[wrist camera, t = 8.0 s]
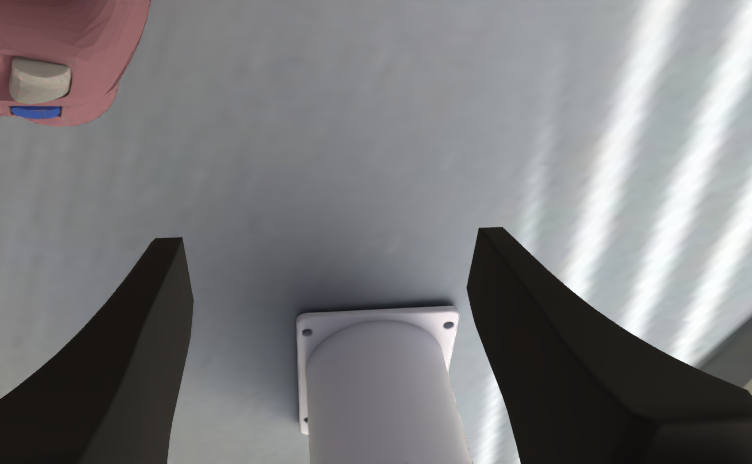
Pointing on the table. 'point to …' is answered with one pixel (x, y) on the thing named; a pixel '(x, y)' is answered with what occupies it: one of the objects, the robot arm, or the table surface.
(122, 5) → the video game controller
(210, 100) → the table surface
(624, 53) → the table surface
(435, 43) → the table surface
